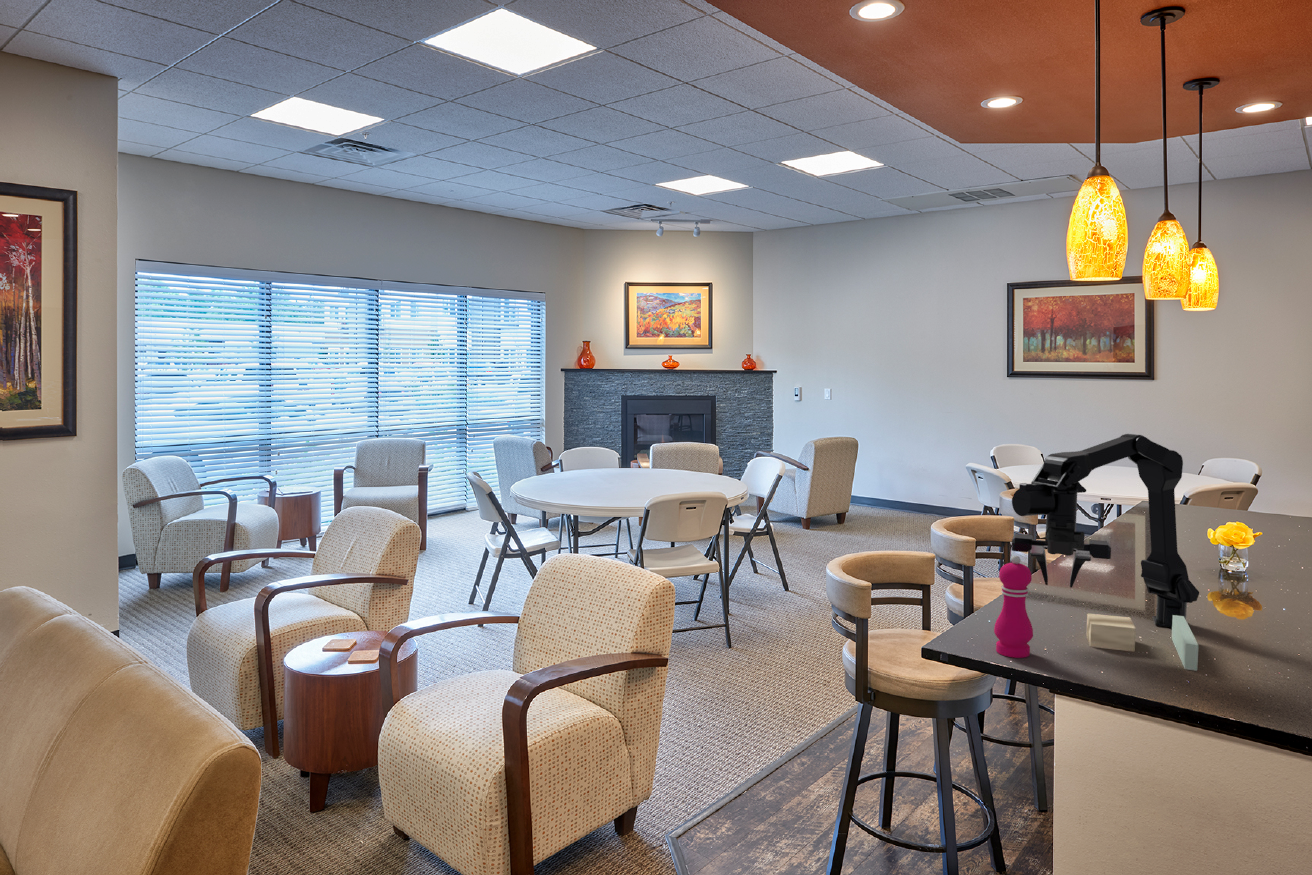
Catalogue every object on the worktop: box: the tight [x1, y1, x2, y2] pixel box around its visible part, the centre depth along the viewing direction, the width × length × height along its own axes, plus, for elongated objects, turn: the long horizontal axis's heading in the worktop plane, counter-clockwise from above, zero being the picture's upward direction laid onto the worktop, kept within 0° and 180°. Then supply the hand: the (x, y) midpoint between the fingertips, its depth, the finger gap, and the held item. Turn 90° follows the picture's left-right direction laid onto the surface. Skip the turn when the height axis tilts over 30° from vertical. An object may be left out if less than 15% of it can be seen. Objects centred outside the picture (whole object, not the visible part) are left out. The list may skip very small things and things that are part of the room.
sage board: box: [1171, 615, 1199, 672], centre depth 166 cm, size 20×2×5 cm, turn 154°
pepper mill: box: [993, 555, 1034, 659], centre depth 166 cm, size 7×7×20 cm
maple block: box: [1085, 613, 1137, 652], centre depth 172 cm, size 8×8×5 cm
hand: (1058, 585), depth 176 cm, fingers open, 4 cm apart
